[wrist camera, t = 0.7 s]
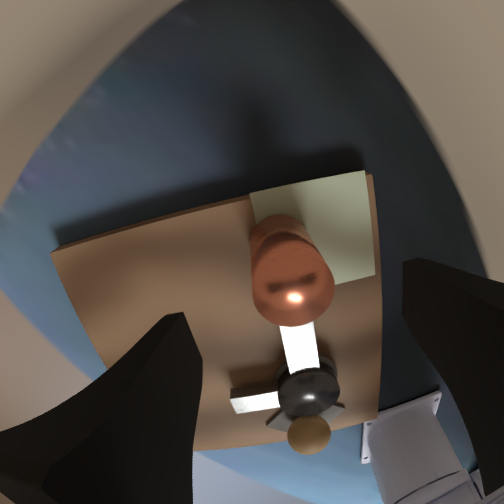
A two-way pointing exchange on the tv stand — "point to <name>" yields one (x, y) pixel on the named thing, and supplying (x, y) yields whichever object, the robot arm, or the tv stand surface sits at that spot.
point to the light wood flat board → (241, 302)
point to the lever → (290, 317)
